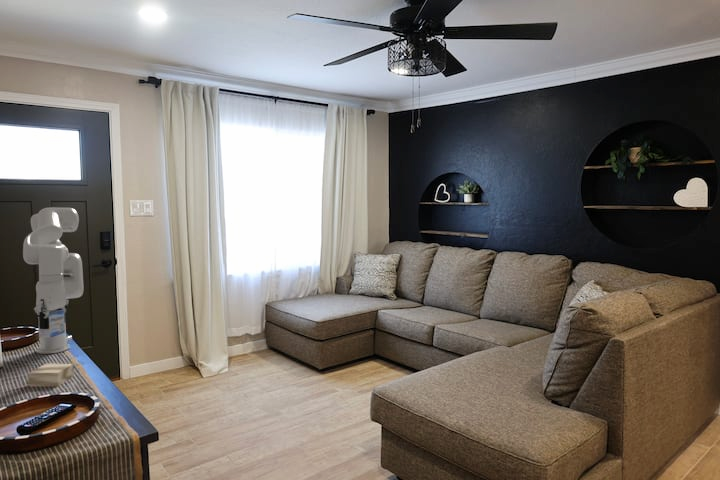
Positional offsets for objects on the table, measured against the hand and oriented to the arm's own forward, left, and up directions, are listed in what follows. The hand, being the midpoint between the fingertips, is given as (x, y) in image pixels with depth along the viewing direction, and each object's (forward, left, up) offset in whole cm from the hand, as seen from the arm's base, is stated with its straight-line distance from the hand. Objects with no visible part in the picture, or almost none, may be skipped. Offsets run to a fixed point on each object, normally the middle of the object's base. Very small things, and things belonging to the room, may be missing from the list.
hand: (52, 325), depth 176 cm
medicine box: (0, 0, -4) cm, 4 cm away
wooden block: (+6, +3, -19) cm, 20 cm away
